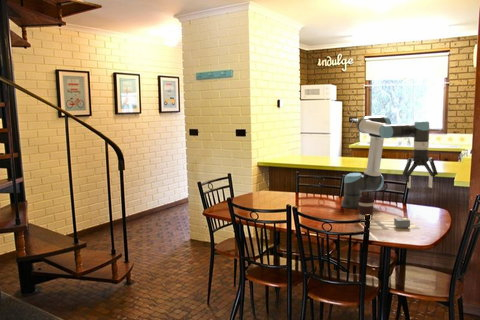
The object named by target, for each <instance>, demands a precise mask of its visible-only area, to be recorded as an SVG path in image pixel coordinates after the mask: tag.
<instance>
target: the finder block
mask: <svg viewBox="0 0 480 320" xmlns="http://www.w3.org/2000/svg"><path fill="white" fill-rule="evenodd" d="M393 220H394V225H395V226H396V227H397V228H399V229H398V230H401V229H400V228H401V227H406V228H408V227H410V222H411V219H409V218H407V217H394V219H393Z"/></svg>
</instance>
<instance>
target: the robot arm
mask: <svg viewBox="0 0 480 320" xmlns="http://www.w3.org/2000/svg"><path fill="white" fill-rule="evenodd" d="M355 126H356V127H355V128H356V130H357V131H358V132H359V133H362V134H368V137H370V141H369V147H368V156H367V164H366V169H365V170H364V171H363V174H362V173H360V172H350V173H348V174H347V173H346V175H345V176H344V178H343V179H344V180H343V183H344V184H343V185H344V188H343V189H344V191H343V192H344V194H343V195H344V196H343V198H342V201H341V207H342V208H345V209H351V210H352V209H354V210H357V209H358V210H359V207H358V204H359V202H358V198H360V196H362V192H375V191H380V190H382V188H383V187H384V181H385V180H384V179H385V178H384V176H383V175H382V172H381V171H380V168H381V161H382V156H383V155H382V154H383V149H384V140H385V139H395V138H397V139H398V138H413V148H414V149H413V154H412V155H413V157H412V158H410V157H409V158H407V162H406V164H405V167H404V169H403V172H402V175H403V176H405V182H406V183H407V185H406V187H407V189H411V186H412V185H411V183H412V176H411V175H412V174H413V172H414V170H415V169H416V168H417V167H424V168H426V169H425V170H426V171H427V172H428V173H429V175H428V188H430V189H432V188H433V182H434V181H435V177H436V176H437V175H439V173H438V170H437V167H436V165H435V159H434V157H429V145H430V144H429V143H430V142H429V139H430V122H429V121H425V120H423V121H422V120H418V121H417V120H416V121H415V122H414V123H405V124H392V121H391V119H390V117H389V116H387V115H365V116H362V117H360V118H359V119H358V120H357V121H356V125H355ZM428 162H429V164H430V165H429V164H428Z"/></svg>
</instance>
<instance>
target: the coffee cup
mask: <svg viewBox="0 0 480 320" xmlns="http://www.w3.org/2000/svg"><path fill="white" fill-rule="evenodd" d="M358 202H359V204H358V207H359V209H358V215H359V216H358V217H359V220H365V219H364V217H365V214H370V215H371V219H370V220H372V219H373V214H374V213H373V212H374V203H375V198H373V197H372V195H371V196H370V195H361V196H360V198H358Z"/></svg>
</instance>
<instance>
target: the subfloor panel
mask: <svg viewBox="0 0 480 320" xmlns="http://www.w3.org/2000/svg"><path fill="white" fill-rule="evenodd" d="M370 221H371V223H370V229H369V231H378V230H381V231H382V230H385V231H386V230H389V231H390V230H420V227H418V226H416V225H415V224H414V223H412V222H411V221H410V227H408V228H406V227H401V228H400V229H399V228H397V227H396V226H395V225H394V219H388V220H387V219H386V220H383V219H381V220H380V219H378V220H376V219H375V220H374V219H373V220H370ZM360 224H361V225H362V226H363V227H364V226H365V224H364V223H362V222H360Z"/></svg>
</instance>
